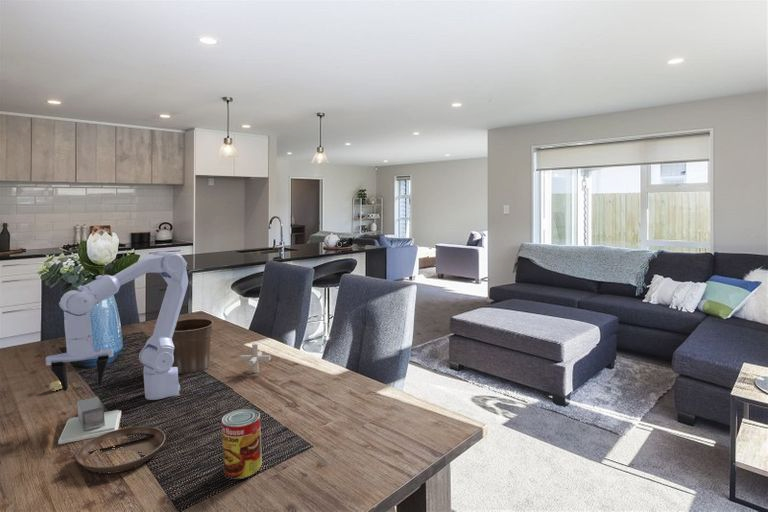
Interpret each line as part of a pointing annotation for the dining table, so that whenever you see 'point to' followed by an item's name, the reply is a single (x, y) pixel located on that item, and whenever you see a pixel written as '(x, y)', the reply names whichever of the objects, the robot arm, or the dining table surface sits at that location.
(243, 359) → the pipe connector
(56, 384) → the yellow rounded lump
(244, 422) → the canned food
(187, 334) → the plant pot
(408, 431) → the dining table surface
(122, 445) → the plant saucer
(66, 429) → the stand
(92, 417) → the block
